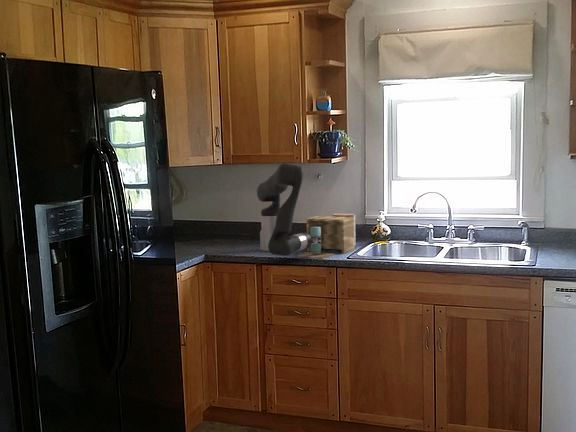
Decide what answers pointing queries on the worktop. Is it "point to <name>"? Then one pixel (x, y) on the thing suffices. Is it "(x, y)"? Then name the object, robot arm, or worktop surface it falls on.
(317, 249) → the tin
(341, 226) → the cubby
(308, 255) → the trivet
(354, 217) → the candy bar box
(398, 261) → the worktop surface
